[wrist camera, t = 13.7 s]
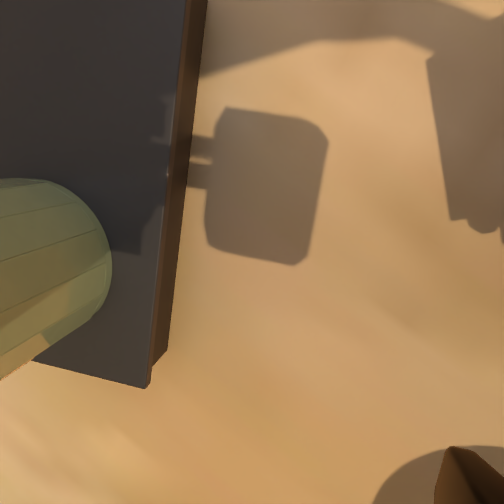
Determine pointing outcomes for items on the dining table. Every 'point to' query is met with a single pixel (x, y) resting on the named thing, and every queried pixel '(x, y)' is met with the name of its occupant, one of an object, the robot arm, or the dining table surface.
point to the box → (108, 151)
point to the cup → (46, 268)
